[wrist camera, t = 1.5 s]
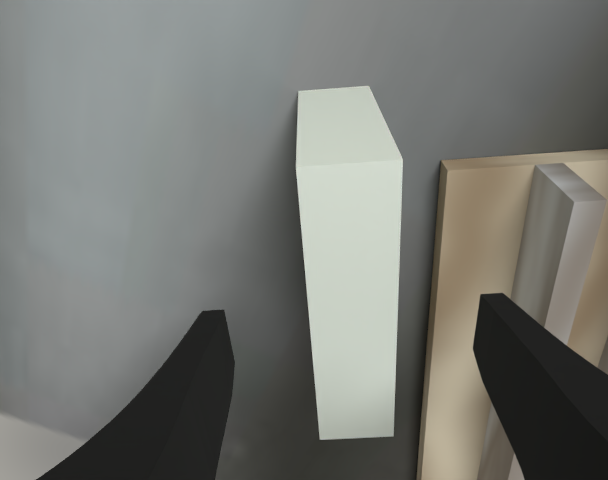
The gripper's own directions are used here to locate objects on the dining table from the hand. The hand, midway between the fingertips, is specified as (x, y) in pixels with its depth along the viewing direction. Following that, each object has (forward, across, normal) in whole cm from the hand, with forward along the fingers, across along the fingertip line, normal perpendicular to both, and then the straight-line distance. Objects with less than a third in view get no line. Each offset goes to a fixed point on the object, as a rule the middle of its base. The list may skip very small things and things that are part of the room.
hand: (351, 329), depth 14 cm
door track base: (+7, -10, +9) cm, 15 cm away
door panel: (+7, 0, 0) cm, 7 cm away
